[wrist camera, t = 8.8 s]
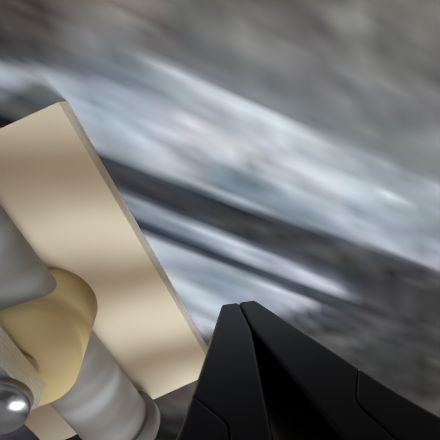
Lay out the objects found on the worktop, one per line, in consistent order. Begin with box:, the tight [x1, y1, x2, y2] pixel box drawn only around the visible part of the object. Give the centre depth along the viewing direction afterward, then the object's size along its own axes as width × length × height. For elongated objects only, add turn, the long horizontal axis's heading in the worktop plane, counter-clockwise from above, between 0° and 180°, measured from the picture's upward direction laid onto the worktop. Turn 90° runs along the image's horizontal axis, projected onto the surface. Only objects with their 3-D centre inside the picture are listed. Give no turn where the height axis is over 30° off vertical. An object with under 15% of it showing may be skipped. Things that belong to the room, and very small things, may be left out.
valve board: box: [0, 101, 208, 440], centre depth 17 cm, size 18×12×6 cm, turn 23°
